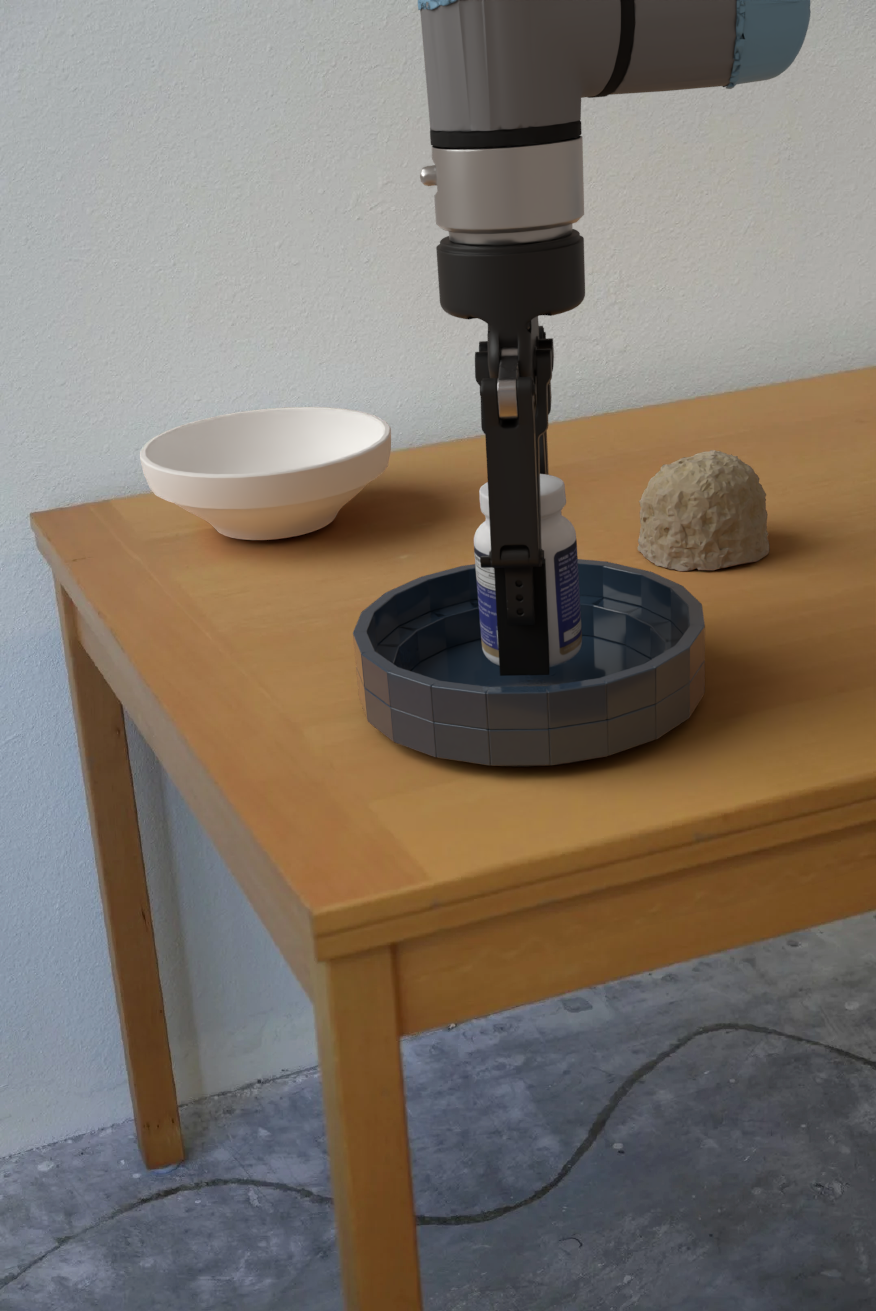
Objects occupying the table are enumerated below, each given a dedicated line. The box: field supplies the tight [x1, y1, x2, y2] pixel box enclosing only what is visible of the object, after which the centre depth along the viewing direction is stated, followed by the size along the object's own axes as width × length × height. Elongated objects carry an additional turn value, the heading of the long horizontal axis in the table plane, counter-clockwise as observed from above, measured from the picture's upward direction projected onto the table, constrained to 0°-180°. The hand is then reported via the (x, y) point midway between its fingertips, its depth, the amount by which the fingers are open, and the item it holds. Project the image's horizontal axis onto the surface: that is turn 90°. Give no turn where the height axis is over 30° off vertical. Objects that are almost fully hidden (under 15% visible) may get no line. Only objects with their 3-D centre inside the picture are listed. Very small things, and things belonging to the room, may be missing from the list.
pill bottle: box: [473, 474, 582, 667], centre depth 82 cm, size 6×6×10 cm
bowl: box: [139, 406, 392, 541], centre depth 116 cm, size 20×20×7 cm
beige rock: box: [637, 449, 770, 572], centre depth 104 cm, size 9×10×10 cm
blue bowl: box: [352, 558, 706, 768], centre depth 84 cm, size 20×20×5 cm
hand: (528, 648), depth 84 cm, fingers closed on pill bottle, 6 cm apart
